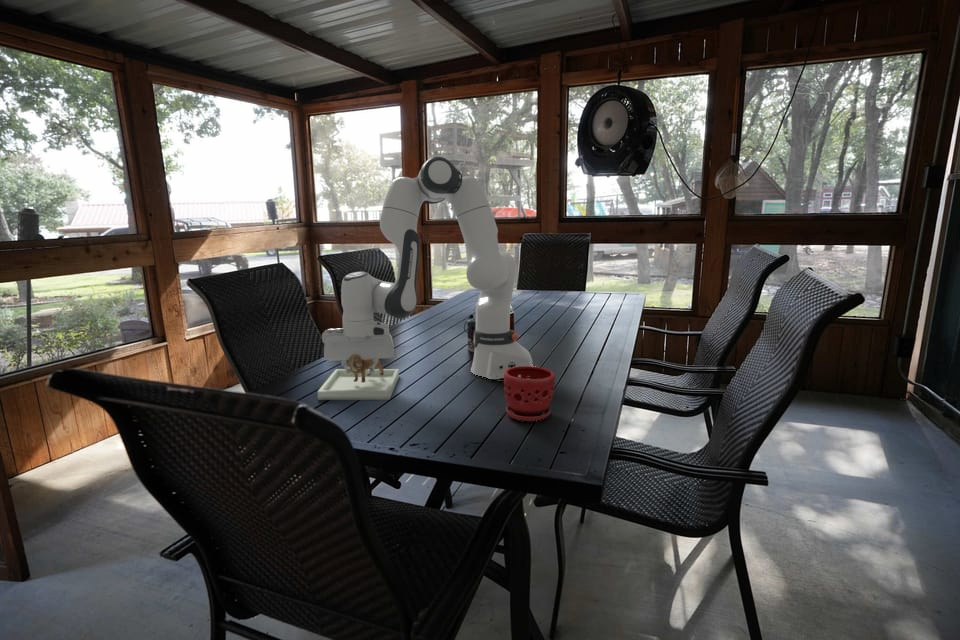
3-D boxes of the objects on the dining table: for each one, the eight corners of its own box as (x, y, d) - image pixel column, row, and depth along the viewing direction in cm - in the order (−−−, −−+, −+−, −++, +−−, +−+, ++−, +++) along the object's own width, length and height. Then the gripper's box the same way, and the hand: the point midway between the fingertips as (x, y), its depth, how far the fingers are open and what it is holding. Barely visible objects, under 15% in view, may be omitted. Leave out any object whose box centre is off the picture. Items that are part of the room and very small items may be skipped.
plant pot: (561, 422, 131) (563, 377, 128) (513, 428, 127) (514, 382, 125) (541, 403, 143) (542, 362, 141) (496, 408, 140) (497, 366, 137)
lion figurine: (359, 387, 149) (358, 356, 147) (344, 384, 151) (343, 355, 149) (388, 373, 162) (387, 345, 161) (373, 371, 164) (372, 344, 163)
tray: (399, 376, 165) (398, 369, 164) (389, 399, 145) (389, 391, 145) (336, 376, 164) (335, 369, 164) (318, 399, 145) (317, 391, 144)
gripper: (320, 331, 146) (323, 378, 149) (393, 329, 149) (394, 374, 152) (322, 326, 152) (325, 371, 155) (393, 324, 155) (394, 368, 158)
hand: (360, 373), depth 154 cm, fingers closed on lion figurine, 5 cm apart
